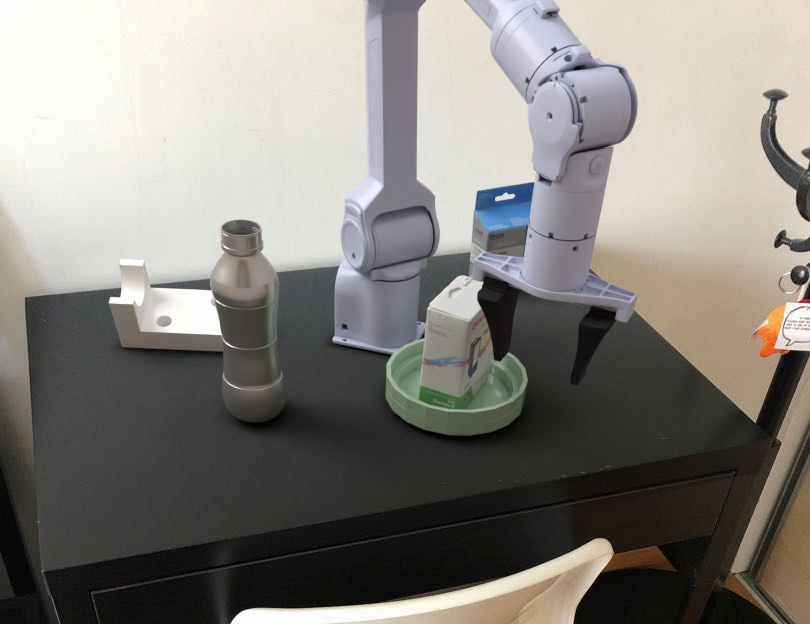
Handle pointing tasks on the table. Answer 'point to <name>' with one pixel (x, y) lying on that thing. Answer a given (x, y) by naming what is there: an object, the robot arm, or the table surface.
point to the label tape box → (501, 221)
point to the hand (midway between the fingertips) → (538, 367)
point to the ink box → (455, 347)
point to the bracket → (163, 314)
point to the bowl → (481, 415)
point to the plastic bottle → (248, 324)
